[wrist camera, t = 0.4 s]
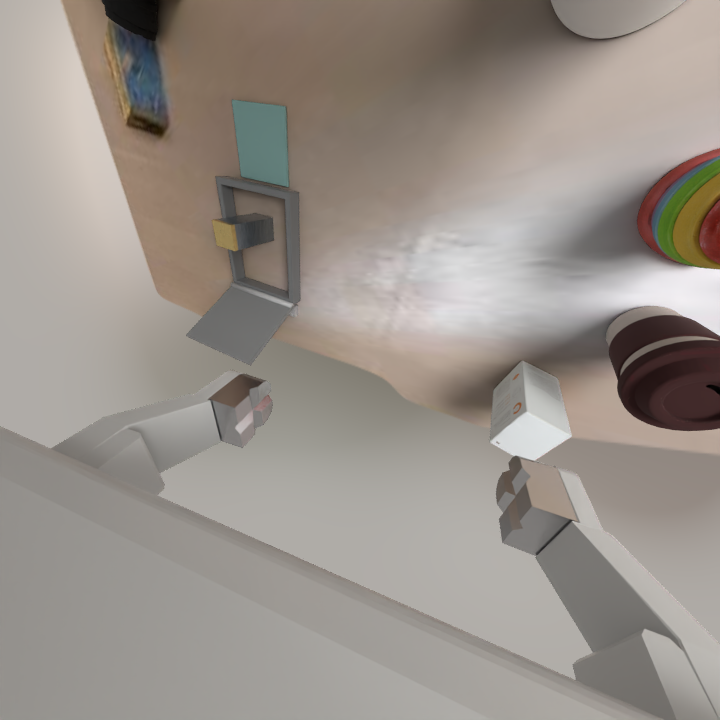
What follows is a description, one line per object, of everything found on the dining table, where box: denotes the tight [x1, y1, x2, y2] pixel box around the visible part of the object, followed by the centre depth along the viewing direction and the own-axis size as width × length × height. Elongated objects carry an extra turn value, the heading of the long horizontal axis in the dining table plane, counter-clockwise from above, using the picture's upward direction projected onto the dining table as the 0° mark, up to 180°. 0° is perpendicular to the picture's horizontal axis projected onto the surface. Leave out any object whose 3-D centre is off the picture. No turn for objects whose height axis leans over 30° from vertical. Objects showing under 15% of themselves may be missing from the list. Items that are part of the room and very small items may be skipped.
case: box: [186, 176, 300, 365], centre depth 50 cm, size 27×16×16 cm, turn 172°
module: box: [212, 213, 274, 251], centre depth 48 cm, size 4×4×10 cm
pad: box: [232, 100, 289, 187], centre depth 43 cm, size 10×10×1 cm
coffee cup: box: [606, 306, 720, 431], centre depth 30 cm, size 10×10×15 cm
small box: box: [490, 360, 572, 461], centre depth 41 cm, size 8×6×13 cm
